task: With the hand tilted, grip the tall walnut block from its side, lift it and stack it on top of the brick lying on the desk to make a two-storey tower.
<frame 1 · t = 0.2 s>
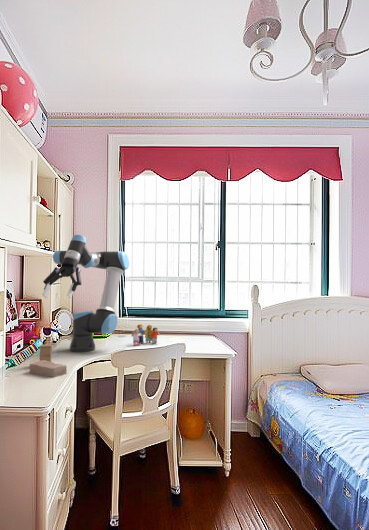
hand: (56, 296, 180), 35 cm above the table, tool tilted 35°, fingers open, 13 cm apart
doll family: (143, 344, 250), on the table
brick: (48, 374, 174), on the table
walnut block: (45, 365, 188), on the table
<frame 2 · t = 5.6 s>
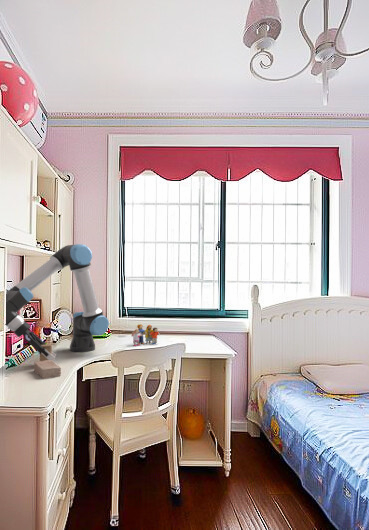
hand: (53, 358, 189), 3 cm above the table, tool tilted 45°, fingers closed on walnut block, 5 cm apart
walnut block: (45, 365, 188), on the table, touching gripper
when the fingers open (10 cm above the table, at t = 9.2 s): walnut block drops 2 cm, point 4 cm above the table.
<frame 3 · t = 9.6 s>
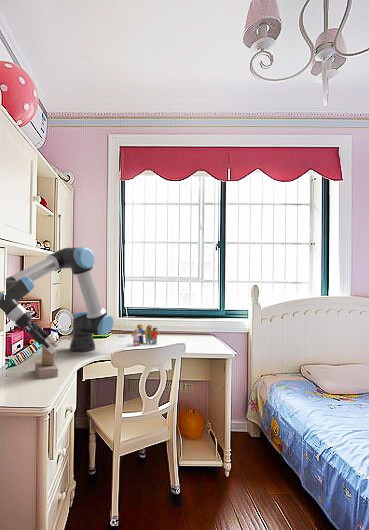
hand: (55, 349, 175), 11 cm above the table, tool tilted 45°, fingers open, 11 cm apart
walnut block: (48, 363, 174), point 4 cm above the table
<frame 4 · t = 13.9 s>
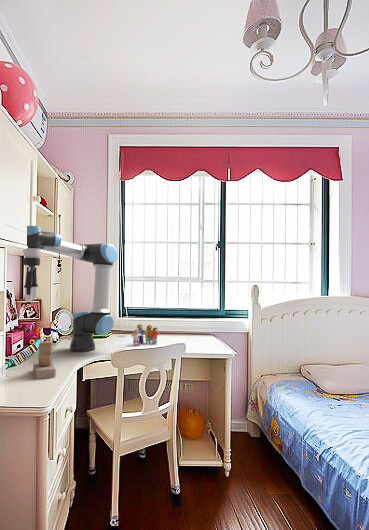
hand: (30, 300, 183), 33 cm above the table, tool pointing down, fingers open, 13 cm apart
brick: (44, 375, 172), on the table, touching walnut block
walnut block: (45, 364, 173), point 4 cm above the table, touching brick
everything else where it was.
at the end: walnut block inside the target area on the brick (0.9 cm from its centre), point 4.9 cm above the brick's base; walnut block tilted 0°; the gripper is holding nothing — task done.
